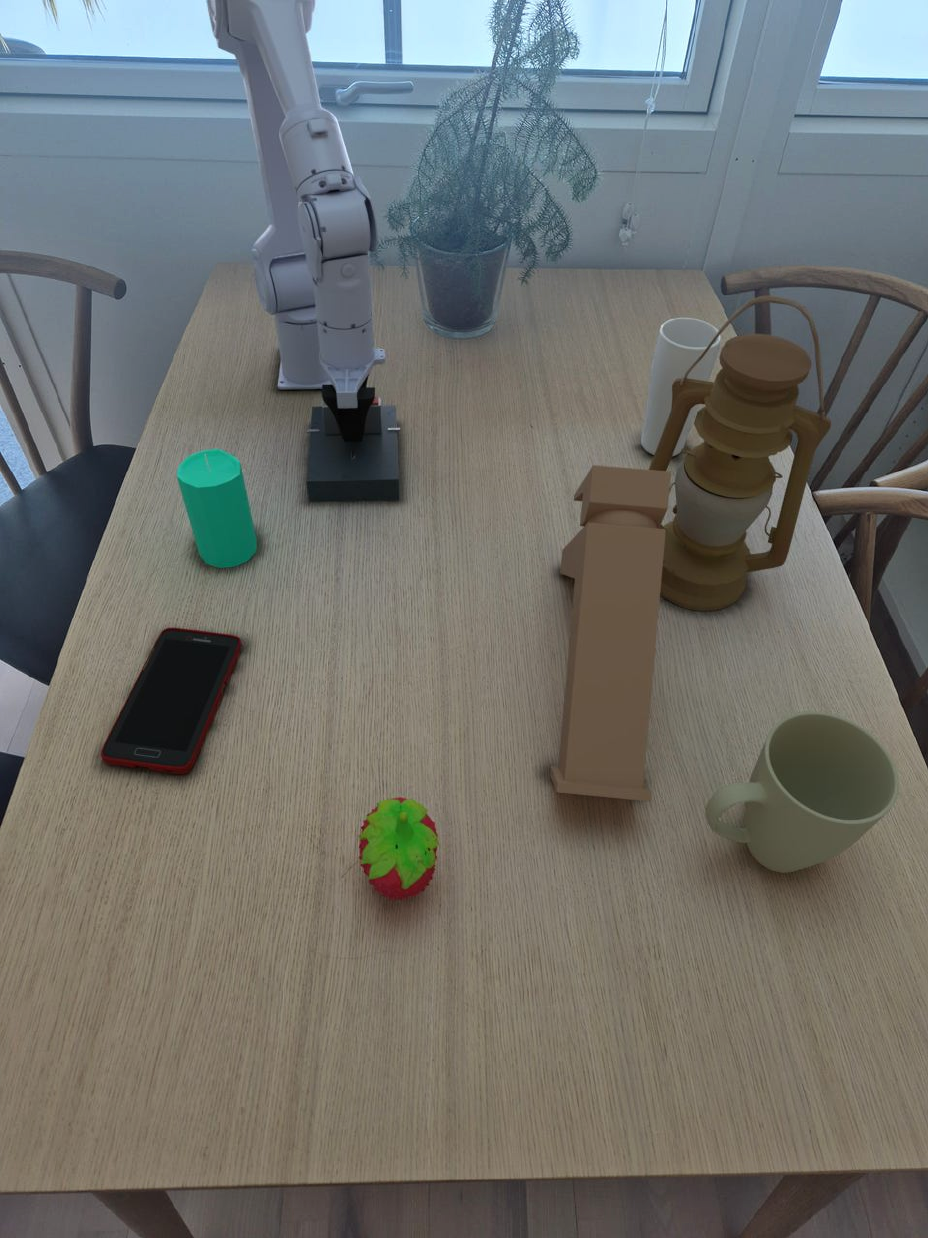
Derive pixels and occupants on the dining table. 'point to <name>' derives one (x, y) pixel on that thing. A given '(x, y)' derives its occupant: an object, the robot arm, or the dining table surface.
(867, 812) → the mug
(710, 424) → the lantern
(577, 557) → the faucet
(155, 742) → the cell phone
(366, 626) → the dining table surface
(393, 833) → the strawberry
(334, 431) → the tap handle
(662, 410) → the white cup
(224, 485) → the candle
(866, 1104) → the dining table surface
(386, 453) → the plate
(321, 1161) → the dining table surface
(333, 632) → the dining table surface
